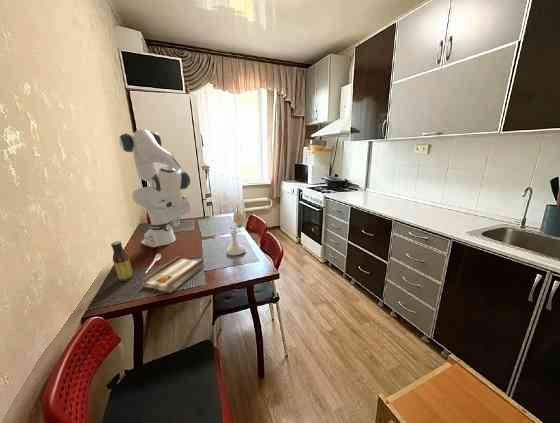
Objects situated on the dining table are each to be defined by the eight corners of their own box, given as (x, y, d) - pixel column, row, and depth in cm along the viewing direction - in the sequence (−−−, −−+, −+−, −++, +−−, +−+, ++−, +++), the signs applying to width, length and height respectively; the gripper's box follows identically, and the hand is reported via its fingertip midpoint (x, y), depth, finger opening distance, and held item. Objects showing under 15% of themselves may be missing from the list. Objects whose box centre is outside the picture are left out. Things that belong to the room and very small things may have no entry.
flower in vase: (229, 259, 132) (224, 217, 124) (224, 251, 141) (219, 212, 134) (250, 253, 137) (247, 213, 130) (244, 246, 147) (240, 208, 140)
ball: (157, 284, 109) (157, 275, 109) (163, 282, 113) (164, 273, 113) (163, 286, 108) (164, 277, 108) (170, 283, 111) (171, 275, 111)
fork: (142, 275, 120) (141, 272, 120) (156, 256, 139) (156, 253, 139) (148, 274, 121) (148, 271, 120) (162, 256, 140) (161, 253, 139)
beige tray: (143, 286, 109) (141, 279, 108) (180, 262, 130) (178, 255, 129) (170, 292, 104) (168, 284, 103) (203, 265, 125) (202, 259, 124)
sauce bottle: (123, 275, 119) (113, 240, 114) (135, 274, 120) (127, 239, 114) (115, 282, 113) (105, 245, 107) (129, 281, 114) (119, 244, 108)
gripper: (182, 194, 128) (185, 218, 132) (151, 204, 110) (156, 231, 114) (191, 195, 126) (194, 219, 130) (161, 206, 108) (166, 233, 112)
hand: (176, 225), depth 122 cm, fingers closed
